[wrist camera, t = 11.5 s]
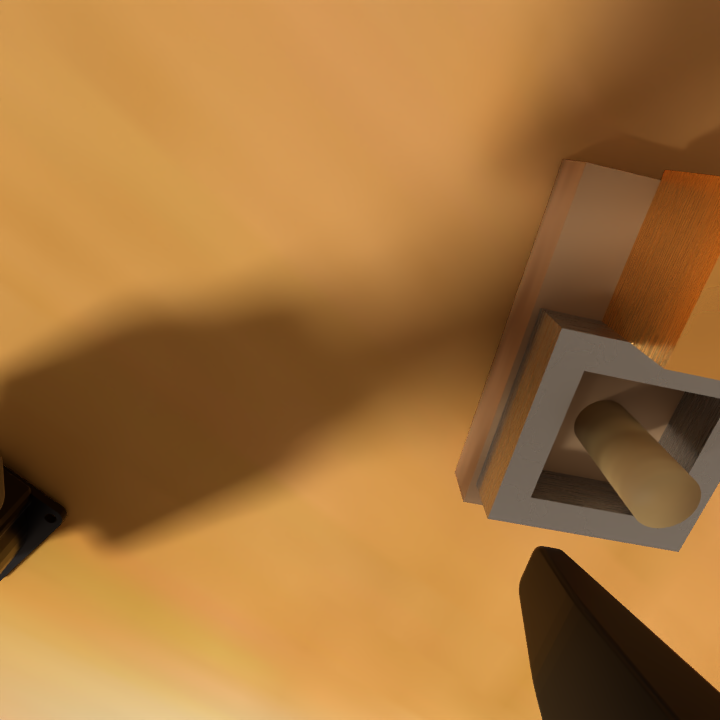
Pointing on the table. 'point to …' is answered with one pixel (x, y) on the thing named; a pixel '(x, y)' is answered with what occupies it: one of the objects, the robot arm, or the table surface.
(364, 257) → the table surface
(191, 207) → the table surface
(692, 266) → the link
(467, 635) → the table surface
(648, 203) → the keeper
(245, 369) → the table surface
